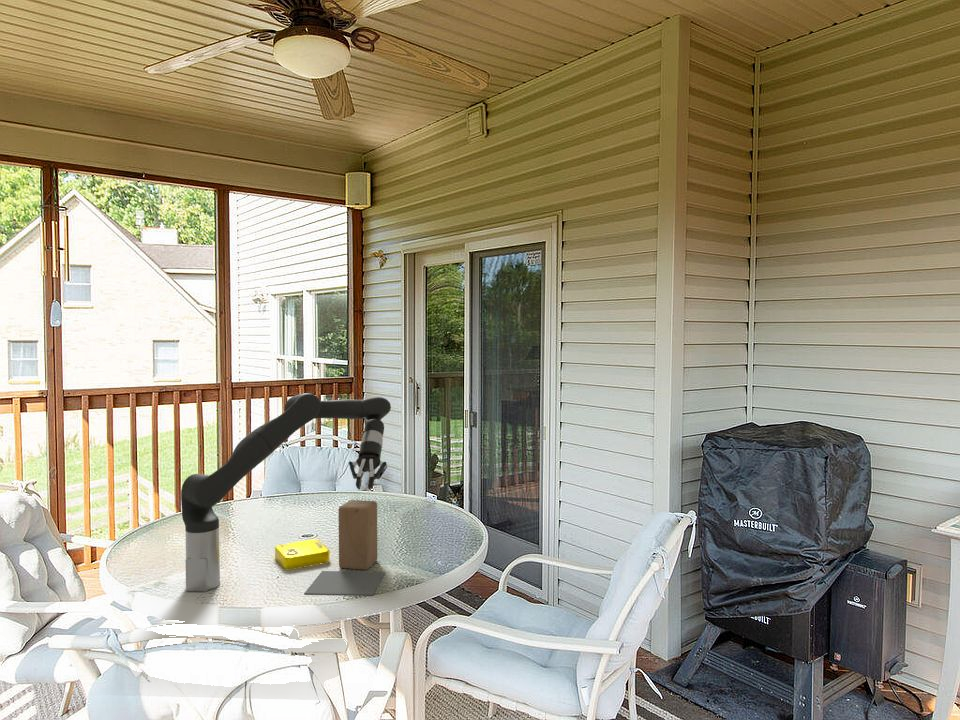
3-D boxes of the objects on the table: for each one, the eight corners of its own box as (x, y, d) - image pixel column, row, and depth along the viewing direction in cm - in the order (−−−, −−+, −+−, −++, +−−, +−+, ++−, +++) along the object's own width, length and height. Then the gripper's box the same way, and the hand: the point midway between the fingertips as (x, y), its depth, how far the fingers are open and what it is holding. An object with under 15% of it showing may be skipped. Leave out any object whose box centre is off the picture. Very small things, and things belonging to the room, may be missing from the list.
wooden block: (367, 571, 208) (366, 508, 208) (337, 568, 210) (337, 506, 210) (378, 560, 218) (378, 500, 217) (350, 558, 220) (349, 499, 219)
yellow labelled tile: (331, 563, 217) (331, 549, 217) (285, 571, 209) (285, 557, 209) (317, 550, 230) (317, 537, 230) (273, 558, 222) (273, 544, 222)
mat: (373, 595, 189) (373, 594, 189) (304, 594, 190) (304, 593, 190) (384, 572, 207) (384, 571, 207) (322, 571, 208) (322, 570, 208)
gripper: (349, 439, 232) (341, 482, 220) (389, 440, 231) (383, 482, 219) (353, 452, 237) (345, 494, 225) (392, 452, 237) (386, 494, 225)
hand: (364, 488), depth 222 cm, fingers open, 3 cm apart
